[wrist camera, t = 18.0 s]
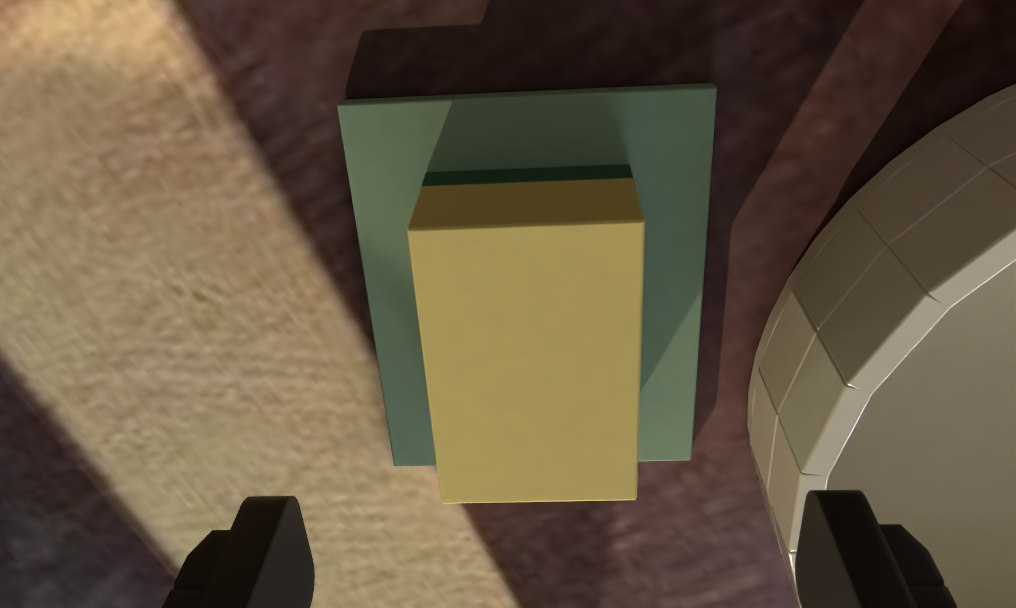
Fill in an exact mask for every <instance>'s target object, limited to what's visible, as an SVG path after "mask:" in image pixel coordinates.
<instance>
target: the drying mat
mask: <svg viewBox="0 0 1016 608" xmlns="http://www.w3.org/2000/svg"><path fill="white" fill-rule="evenodd" d="M716 97H717V87H716V86H715V85H714V83H698V84H677V85H655V86H633V87H611V88H589V89H567V90H545V91H523V92H501V93H479V94H457V95H435V96H413V97H391V98H369V99H347V100H341V101H340V102H339V103H338V106H337V107H338V113H339V120H340V126H341V132H342V139H343V145H344V151H345V157H346V164H347V170H348V176H349V183H350V189H351V195H352V202H353V208H354V214H355V221H356V227H357V233H358V240H359V246H360V252H361V258H362V265H363V271H364V277H365V284H366V290H367V296H368V303H369V309H370V315H371V322H372V328H373V334H374V340H375V347H376V353H377V359H378V366H379V372H380V378H381V385H382V391H383V397H384V404H385V410H386V416H387V423H388V429H389V435H390V441H391V448H392V454H393V460H394V465H395V466H434V465H437V464H436V456H435V448H434V440H433V432H432V424H431V416H430V408H429V400H428V392H427V384H426V376H425V368H424V360H423V352H422V344H421V336H420V328H419V320H418V313H417V305H416V297H415V289H414V281H413V273H412V265H411V257H410V249H409V241H408V233H407V229H408V226H409V223H410V220H411V217H412V214H413V211H414V208H415V205H416V202H417V199H418V196H419V193H420V190H421V185H422V182H423V179H424V176H425V173H427V172H448V171H473V170H497V169H522V168H547V167H572V166H597V165H622V164H629V165H630V167H631V171H632V174H633V178H634V183H635V186H636V190H637V194H638V197H639V201H640V205H641V209H642V212H643V216H644V220H645V240H644V273H643V307H642V340H641V374H640V407H639V440H638V461H673V460H690V459H691V451H692V437H693V423H694V409H695V395H696V380H697V366H698V352H699V338H700V324H701V309H702V295H703V281H704V267H705V253H706V239H707V224H708V210H709V196H710V182H711V168H712V153H713V139H714V125H715V111H716Z"/></svg>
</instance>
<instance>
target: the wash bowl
mask: <svg viewBox="0 0 1016 608" xmlns="http://www.w3.org/2000/svg"><path fill="white" fill-rule="evenodd" d="M747 426H748V433H749V440H750V447H751V454H752V459H753V462H754V465H755V468H756V471H757V474H758V479H759V483H760V487H761V492H762V496H763V500H764V504H765V507H766V510H767V513H768V516H769V519H770V522H771V525H772V528H773V531H774V534H775V536H776V539H777V542H778V545H779V548H780V551H781V553H782V557H783V560H784V563H785V566H786V569H787V572H788V575H789V578H790V581H791V584H792V587H793V590H794V593H795V596H796V599H797V602H798V605H799V608H802V607H801V604H800V601H799V597H798V593H797V587H796V578H795V559H796V553H797V546H798V540H799V534H800V528H801V522H802V516H803V510H804V504H805V499H806V495H807V493H808V491H810V490H861V491H862V492H863V493H864V495H865V496H866V498H867V500H868V502H869V504H870V506H871V508H872V511H873V513H874V515H875V517H876V519H877V521H878V523H879V524H901V525H902V526H903V527H904V528H905V529H906V530H907V531H908V532H909V533H910V534H912V535H913V536H914V537H915V538H916V539H917V540H918V541H919V542H920V543H921V544H922V545H923V546H924V547H925V548H926V549H928V551H929V552H930V554H931V556H932V558H933V560H934V562H935V564H936V566H937V568H938V570H939V572H940V574H941V576H942V577H943V579H944V585H945V587H948V589H949V591H950V593H951V595H952V597H953V599H954V600H955V602H956V604H957V608H1016V84H1014V85H1011V86H1009V87H1007V88H1005V89H1003V90H1001V91H999V92H996V93H994V94H992V95H990V96H988V97H986V98H984V99H983V100H981V101H979V102H978V103H976V104H974V105H972V106H971V107H969V108H967V109H966V110H964V111H962V112H961V113H959V114H957V115H956V116H954V117H952V118H951V119H949V120H947V121H946V122H944V123H942V124H941V125H939V126H937V127H936V128H934V129H933V130H932V131H930V132H929V133H928V134H926V135H925V136H924V137H922V138H921V139H919V140H918V141H917V142H915V143H914V144H913V145H911V146H910V147H909V148H907V149H906V150H905V151H903V152H902V153H901V154H899V155H898V156H897V157H895V158H894V159H893V160H891V161H890V162H889V163H888V164H887V165H885V166H884V167H883V168H882V169H881V170H880V171H879V172H878V173H877V174H876V175H875V176H874V177H872V178H871V179H870V180H869V181H868V182H867V183H866V184H865V185H864V186H863V187H862V188H861V189H859V190H858V191H857V192H856V193H855V194H854V195H853V196H852V197H851V198H850V199H849V200H848V201H847V202H846V203H845V204H844V206H843V207H842V208H841V209H840V210H839V211H838V212H837V214H836V215H835V216H834V217H833V218H832V219H831V221H830V222H829V223H828V224H827V225H826V226H825V227H824V229H823V230H822V231H821V232H820V233H819V234H818V235H817V237H816V238H815V239H814V241H813V242H812V244H811V245H810V247H809V248H808V250H807V251H806V252H805V254H804V255H803V257H802V258H801V260H800V261H799V263H798V264H797V266H796V267H795V269H794V270H793V272H792V273H791V274H790V276H789V278H788V280H787V282H786V283H785V285H784V287H783V289H782V291H781V293H780V295H779V297H778V299H777V301H776V303H775V305H774V307H773V309H772V311H771V313H770V315H769V317H768V320H767V323H766V326H765V329H764V331H763V334H762V337H761V340H760V343H759V346H758V349H757V351H756V354H755V359H754V365H753V370H752V375H751V380H750V386H749V391H748V425H747Z"/></svg>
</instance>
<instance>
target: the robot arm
mask: <svg viewBox="0 0 1016 608" xmlns="http://www.w3.org/2000/svg"><path fill="white" fill-rule="evenodd" d="M795 578H796V587H797V593H798V597H799V601H800V604H801V607H802V608H957V604H956V602H955V600H954V599H953V597H952V595H951V593H950V591H949V589H948V587H945V585H944V579H943V577H942V576H941V574H940V572H939V570H938V568H937V566H936V564H935V562H934V560H933V558H932V556H931V554H930V552H929V551H928V549H926V548H925V547H924V546H923V545H922V544H921V543H920V542H919V541H918V540H917V539H916V538H915V537H914V536H913V535H912V534H910V533H909V532H908V531H907V530H906V529H905V528H904V527H903V526H902V525H901V524H879V523H878V521H877V519H876V517H875V515H874V513H873V511H872V508H871V506H870V504H869V502H868V500H867V498H866V496H865V495H864V493H863V492H862V491H861V490H810V491H808V493H807V495H806V499H805V504H804V510H803V516H802V522H801V528H800V534H799V540H798V546H797V553H796V559H795ZM314 579H315V573H314V563H313V558H312V554H311V550H310V546H309V542H308V538H307V534H306V530H305V526H304V522H303V518H302V514H301V510H300V506H299V502H298V500H297V498H296V497H294V496H254V497H247V498H246V499H245V500H244V501H243V503H242V505H241V507H240V509H239V511H238V513H237V516H236V518H235V520H234V522H233V525H232V527H231V529H230V530H212V531H211V532H210V533H209V534H208V535H207V536H206V537H205V538H204V539H203V540H202V541H201V542H200V543H199V544H198V545H197V546H196V547H195V549H194V550H193V551H192V552H191V553H190V554H189V555H188V556H187V558H186V560H185V562H184V564H183V566H182V568H181V570H180V572H179V574H178V576H177V578H176V580H175V582H174V588H173V590H171V591H170V593H169V595H168V597H167V599H166V601H165V603H164V605H163V607H162V608H310V606H311V602H312V598H313V592H314Z"/></svg>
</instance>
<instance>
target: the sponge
mask: <svg viewBox="0 0 1016 608" xmlns="http://www.w3.org/2000/svg"><path fill="white" fill-rule="evenodd" d="M407 233H408V241H409V249H410V257H411V265H412V273H413V281H414V289H415V297H416V305H417V313H418V320H419V328H420V336H421V344H422V352H423V360H424V368H425V376H426V384H427V392H428V400H429V408H430V416H431V424H432V432H433V440H434V448H435V456H436V464H437V472H438V480H439V488H440V496H441V501H442V503H494V502H549V501H604V500H635V499H636V497H637V474H638V440H639V407H640V374H641V340H642V307H643V273H644V240H645V220H644V216H643V212H642V209H641V205H640V201H639V197H638V194H637V190H636V186H635V183H634V178H633V174H632V171H631V167H630V165H629V164H622V165H597V166H572V167H547V168H522V169H497V170H473V171H448V172H427V173H425V176H424V179H423V182H422V185H421V190H420V193H419V196H418V199H417V202H416V205H415V208H414V211H413V214H412V217H411V220H410V223H409V226H408V229H407Z"/></svg>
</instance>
